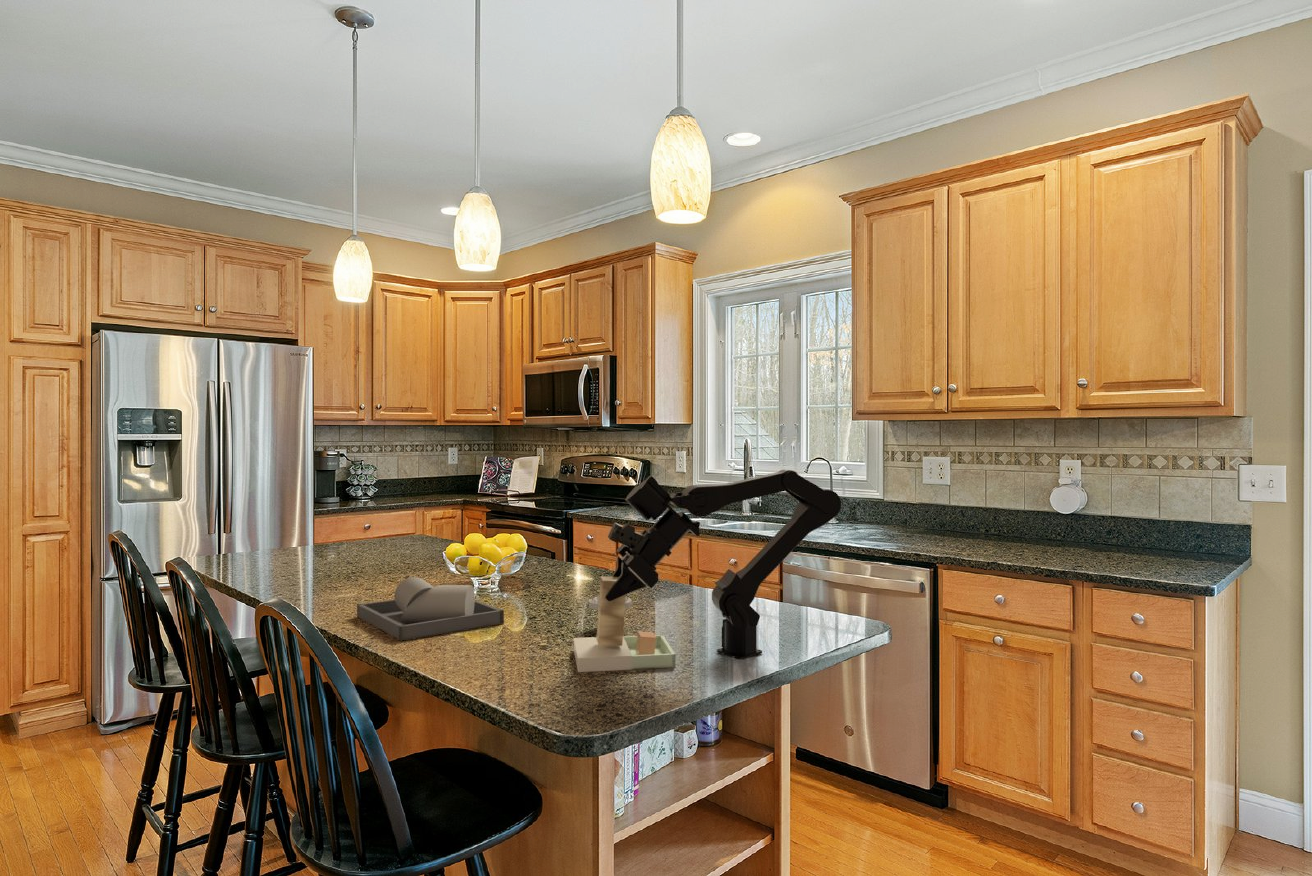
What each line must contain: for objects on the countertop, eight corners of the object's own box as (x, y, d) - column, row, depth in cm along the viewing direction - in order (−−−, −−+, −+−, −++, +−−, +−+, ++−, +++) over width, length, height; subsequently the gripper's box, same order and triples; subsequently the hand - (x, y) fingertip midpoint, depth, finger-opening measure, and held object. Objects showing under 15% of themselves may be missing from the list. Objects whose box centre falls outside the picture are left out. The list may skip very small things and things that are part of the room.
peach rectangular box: (635, 651, 148) (650, 653, 149) (638, 657, 144) (653, 658, 145) (637, 631, 148) (652, 632, 149) (640, 636, 144) (656, 637, 145)
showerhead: (625, 589, 175) (636, 598, 166) (625, 621, 175) (636, 632, 166) (584, 592, 173) (593, 601, 163) (584, 624, 173) (593, 635, 163)
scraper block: (619, 639, 148) (623, 577, 148) (622, 645, 144) (626, 581, 144) (596, 638, 147) (600, 576, 147) (598, 645, 143) (602, 580, 143)
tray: (662, 646, 154) (662, 634, 154) (675, 667, 140) (675, 654, 140) (623, 648, 153) (623, 636, 153) (632, 669, 139) (632, 656, 139)
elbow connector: (370, 623, 167) (462, 623, 167) (374, 574, 169) (465, 574, 169) (398, 622, 184) (481, 622, 184) (401, 577, 186) (483, 577, 186)
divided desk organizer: (503, 623, 173) (503, 610, 173) (400, 641, 158) (400, 626, 158) (452, 603, 194) (452, 591, 194) (357, 617, 179) (357, 604, 179)
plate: (623, 648, 153) (623, 636, 153) (632, 669, 139) (632, 655, 139) (573, 650, 151) (573, 638, 151) (577, 672, 138) (577, 658, 138)
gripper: (626, 503, 155) (572, 560, 154) (639, 512, 137) (578, 576, 135) (665, 541, 157) (612, 597, 155) (683, 555, 138) (623, 619, 137)
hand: (605, 596), depth 145 cm, fingers closed on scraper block, 4 cm apart
